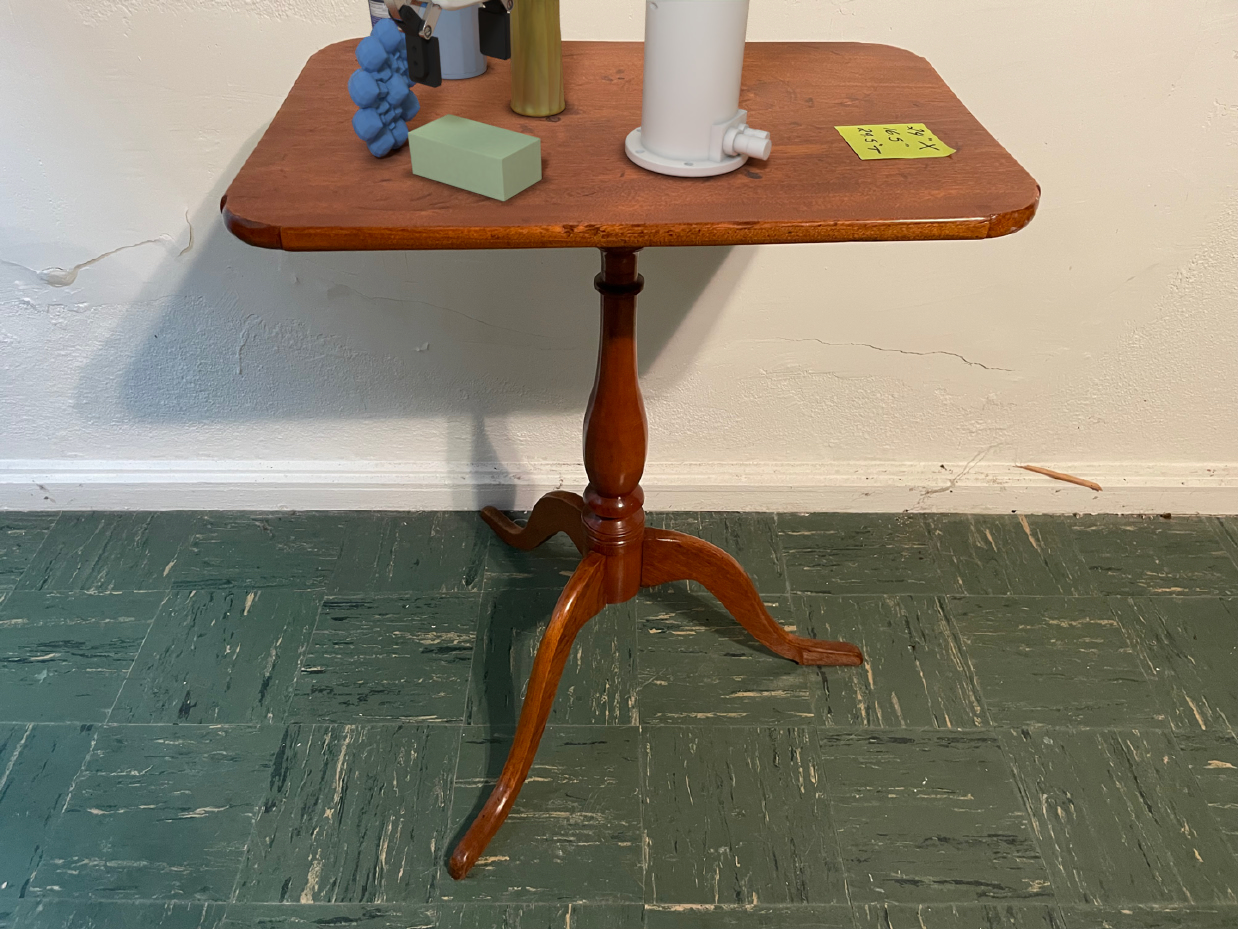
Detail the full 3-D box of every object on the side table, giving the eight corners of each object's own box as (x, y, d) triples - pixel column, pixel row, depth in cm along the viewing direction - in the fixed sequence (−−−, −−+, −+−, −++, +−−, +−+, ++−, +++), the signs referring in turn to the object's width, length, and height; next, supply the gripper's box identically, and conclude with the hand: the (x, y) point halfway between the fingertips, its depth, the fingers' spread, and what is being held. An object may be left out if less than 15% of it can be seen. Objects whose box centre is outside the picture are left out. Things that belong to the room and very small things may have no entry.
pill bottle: (393, 42, 120) (382, -44, 114) (430, 49, 118) (421, -38, 112) (366, 54, 116) (353, -34, 110) (403, 61, 114) (392, -28, 108)
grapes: (386, 122, 99) (368, 1, 91) (443, 131, 97) (430, 8, 90) (326, 163, 90) (301, 33, 83) (388, 173, 89) (368, 42, 81)
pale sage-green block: (541, 179, 89) (540, 138, 86) (504, 201, 85) (501, 159, 82) (452, 153, 93) (448, 113, 90) (412, 173, 89) (407, 132, 87)
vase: (529, 121, 100) (523, -24, 91) (500, 104, 104) (492, -37, 95) (575, 110, 103) (575, -32, 94) (546, 94, 107) (542, -44, 97)
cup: (499, 66, 114) (495, -14, 108) (459, 83, 109) (452, 0, 103) (450, 54, 117) (443, -24, 111) (409, 71, 112) (399, -11, 106)
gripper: (409, -145, 64) (430, 105, 75) (551, -164, 76) (552, 55, 87) (330, -157, 67) (361, 85, 78) (479, -174, 78) (488, 39, 90)
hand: (461, 69), depth 82 cm, fingers open, 9 cm apart
